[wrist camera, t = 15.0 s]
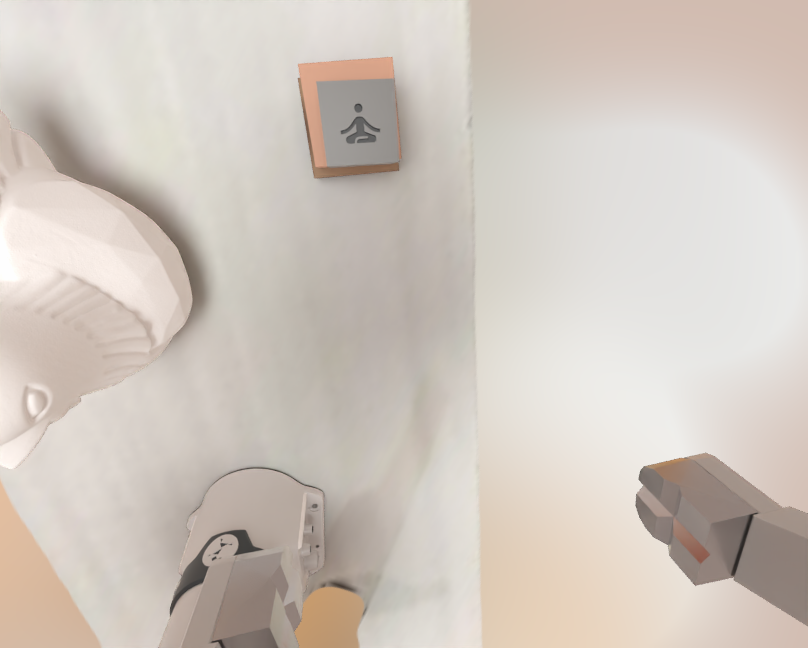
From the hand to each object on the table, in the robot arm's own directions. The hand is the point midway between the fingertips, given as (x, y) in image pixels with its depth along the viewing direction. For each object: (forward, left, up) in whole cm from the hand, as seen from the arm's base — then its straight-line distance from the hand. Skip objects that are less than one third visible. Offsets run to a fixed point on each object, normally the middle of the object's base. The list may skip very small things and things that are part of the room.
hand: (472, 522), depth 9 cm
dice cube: (+11, 0, -28) cm, 30 cm away
